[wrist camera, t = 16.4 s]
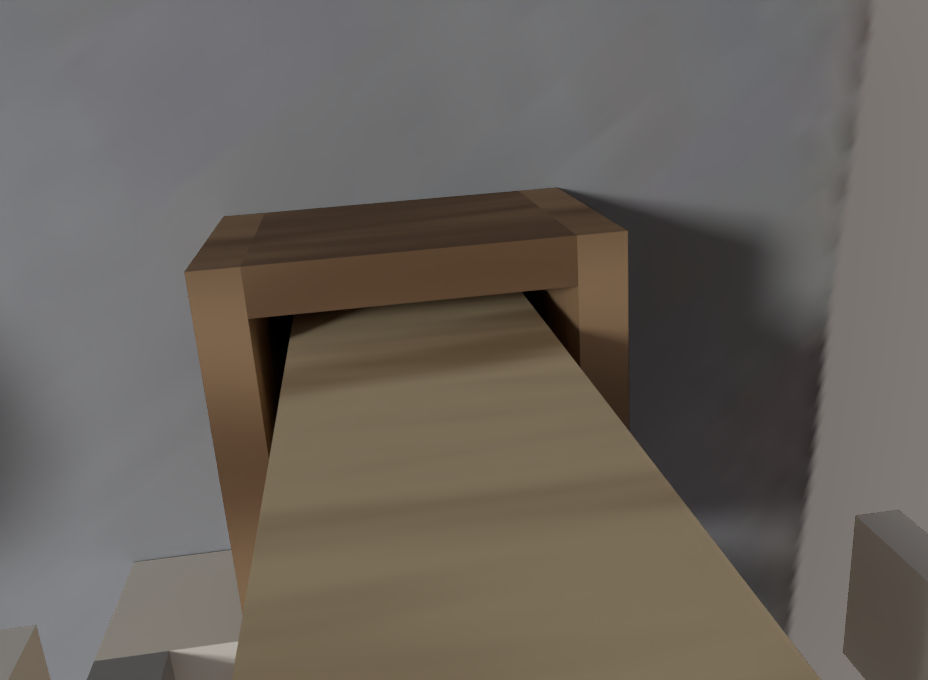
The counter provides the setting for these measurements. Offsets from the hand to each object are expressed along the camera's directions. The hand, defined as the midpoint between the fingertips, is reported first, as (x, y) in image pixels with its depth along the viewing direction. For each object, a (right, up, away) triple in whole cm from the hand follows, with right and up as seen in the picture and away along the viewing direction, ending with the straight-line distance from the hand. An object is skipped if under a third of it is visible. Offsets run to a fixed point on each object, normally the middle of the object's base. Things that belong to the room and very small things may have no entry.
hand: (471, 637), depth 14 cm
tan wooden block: (-2, +4, +14) cm, 15 cm away
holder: (-2, +4, +14) cm, 15 cm away
